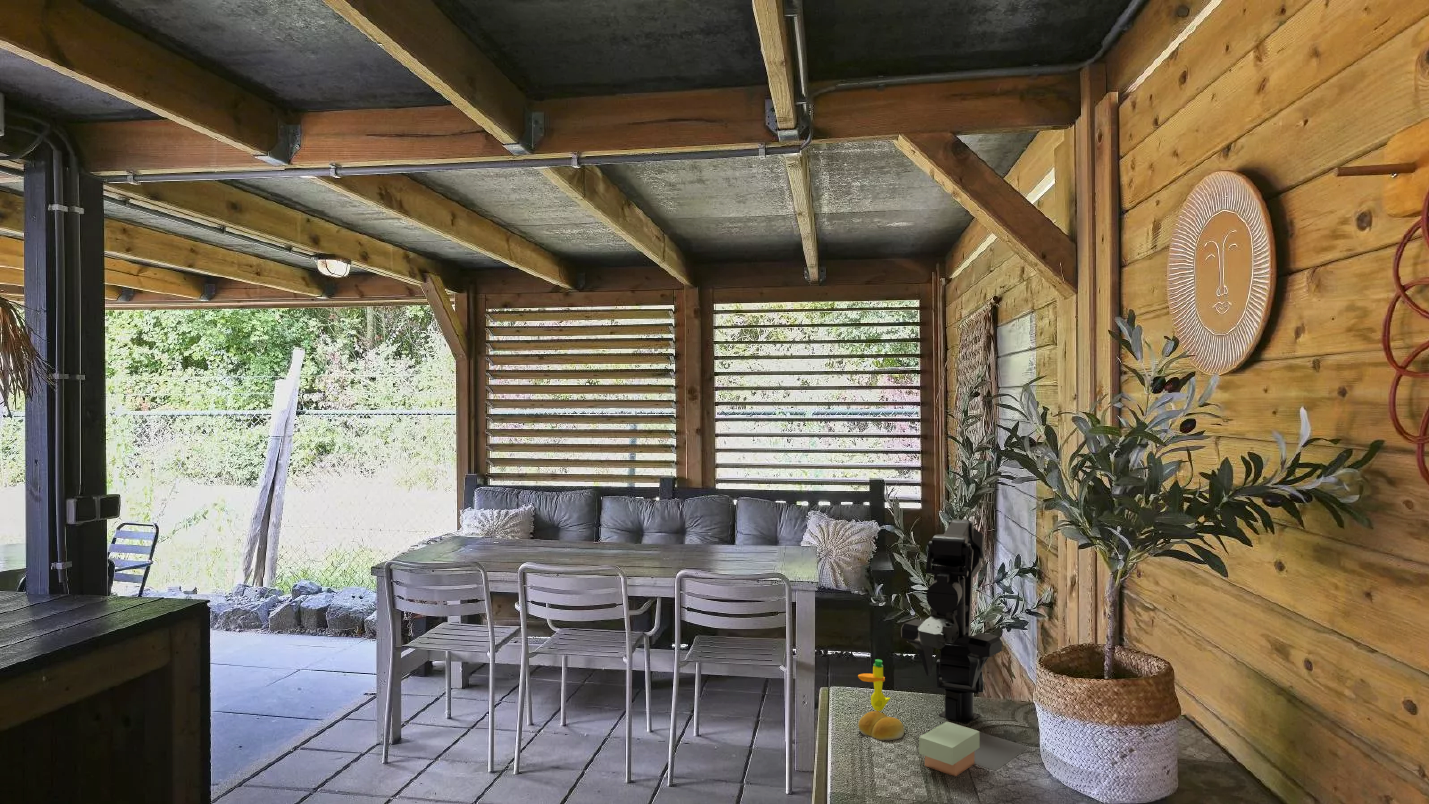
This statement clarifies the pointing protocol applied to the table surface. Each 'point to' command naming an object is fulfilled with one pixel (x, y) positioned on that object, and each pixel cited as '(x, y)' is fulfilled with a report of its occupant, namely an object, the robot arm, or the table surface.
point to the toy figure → (876, 685)
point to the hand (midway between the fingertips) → (950, 681)
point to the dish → (951, 769)
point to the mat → (996, 751)
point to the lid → (949, 743)
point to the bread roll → (880, 726)
